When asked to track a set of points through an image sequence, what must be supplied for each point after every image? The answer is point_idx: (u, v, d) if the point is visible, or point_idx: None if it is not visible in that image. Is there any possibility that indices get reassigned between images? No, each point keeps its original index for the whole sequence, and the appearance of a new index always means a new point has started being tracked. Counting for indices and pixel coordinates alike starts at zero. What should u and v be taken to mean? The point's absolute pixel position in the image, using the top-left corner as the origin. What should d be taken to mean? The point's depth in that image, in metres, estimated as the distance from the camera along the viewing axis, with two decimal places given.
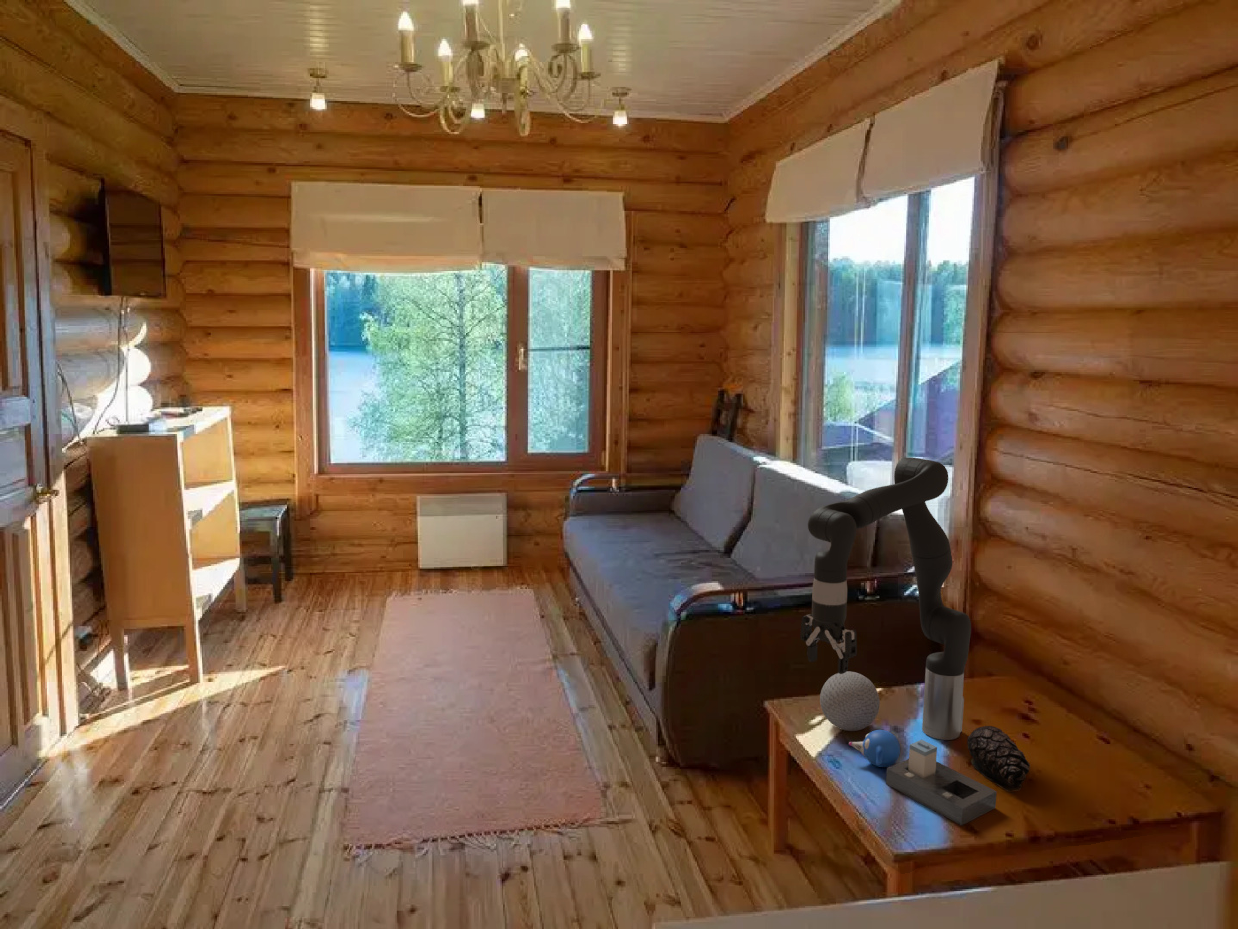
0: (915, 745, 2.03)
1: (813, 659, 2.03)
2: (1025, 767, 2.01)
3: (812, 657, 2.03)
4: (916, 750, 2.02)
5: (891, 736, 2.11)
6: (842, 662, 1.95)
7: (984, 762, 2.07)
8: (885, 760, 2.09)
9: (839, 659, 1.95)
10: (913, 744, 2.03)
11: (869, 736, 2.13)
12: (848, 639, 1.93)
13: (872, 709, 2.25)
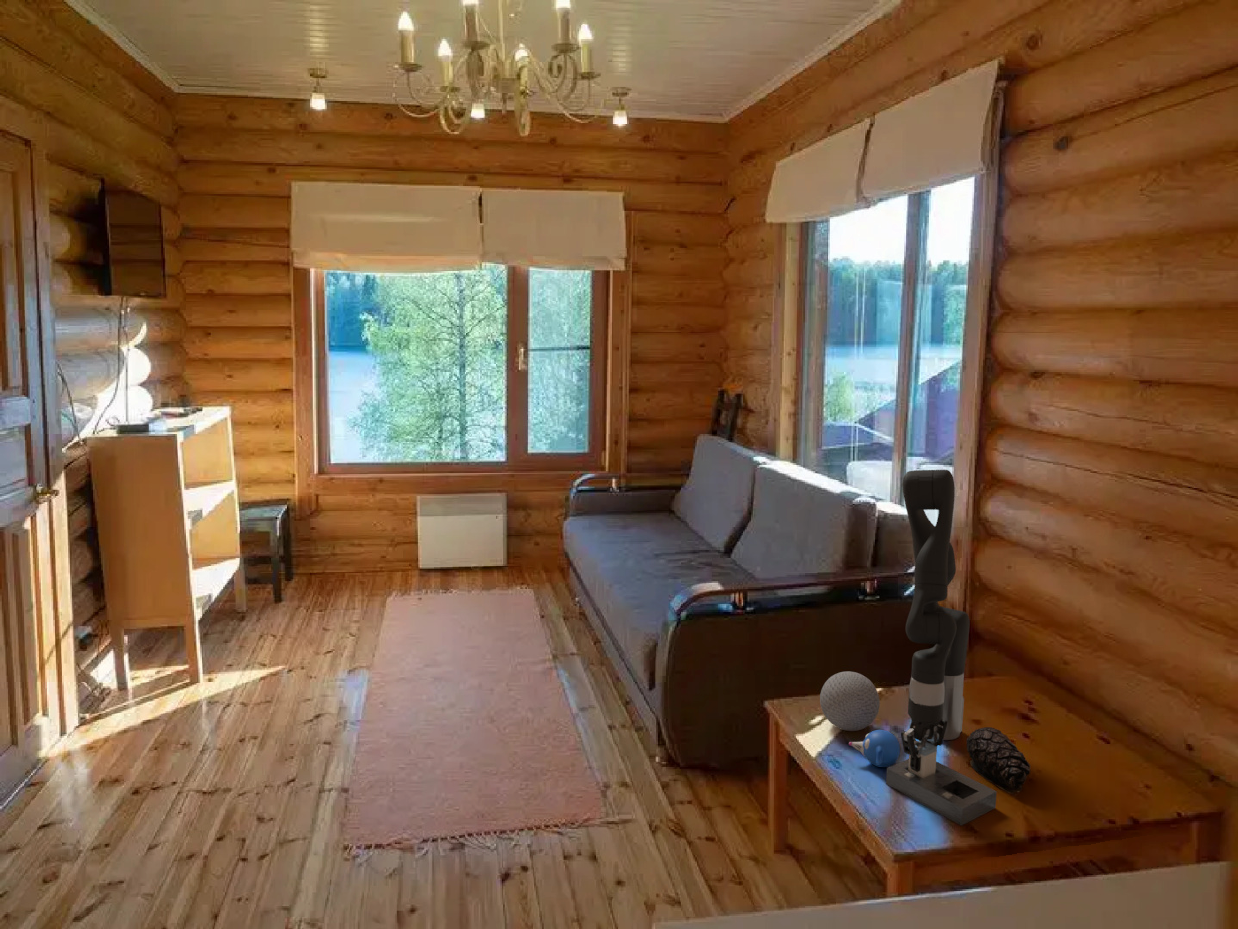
0: (915, 745, 2.03)
1: None
2: (1026, 768, 2.01)
3: None
4: None
5: (891, 736, 2.11)
6: None
7: (985, 764, 2.06)
8: (885, 760, 2.09)
9: None
10: None
11: (869, 736, 2.13)
12: (945, 727, 2.04)
13: (872, 709, 2.25)
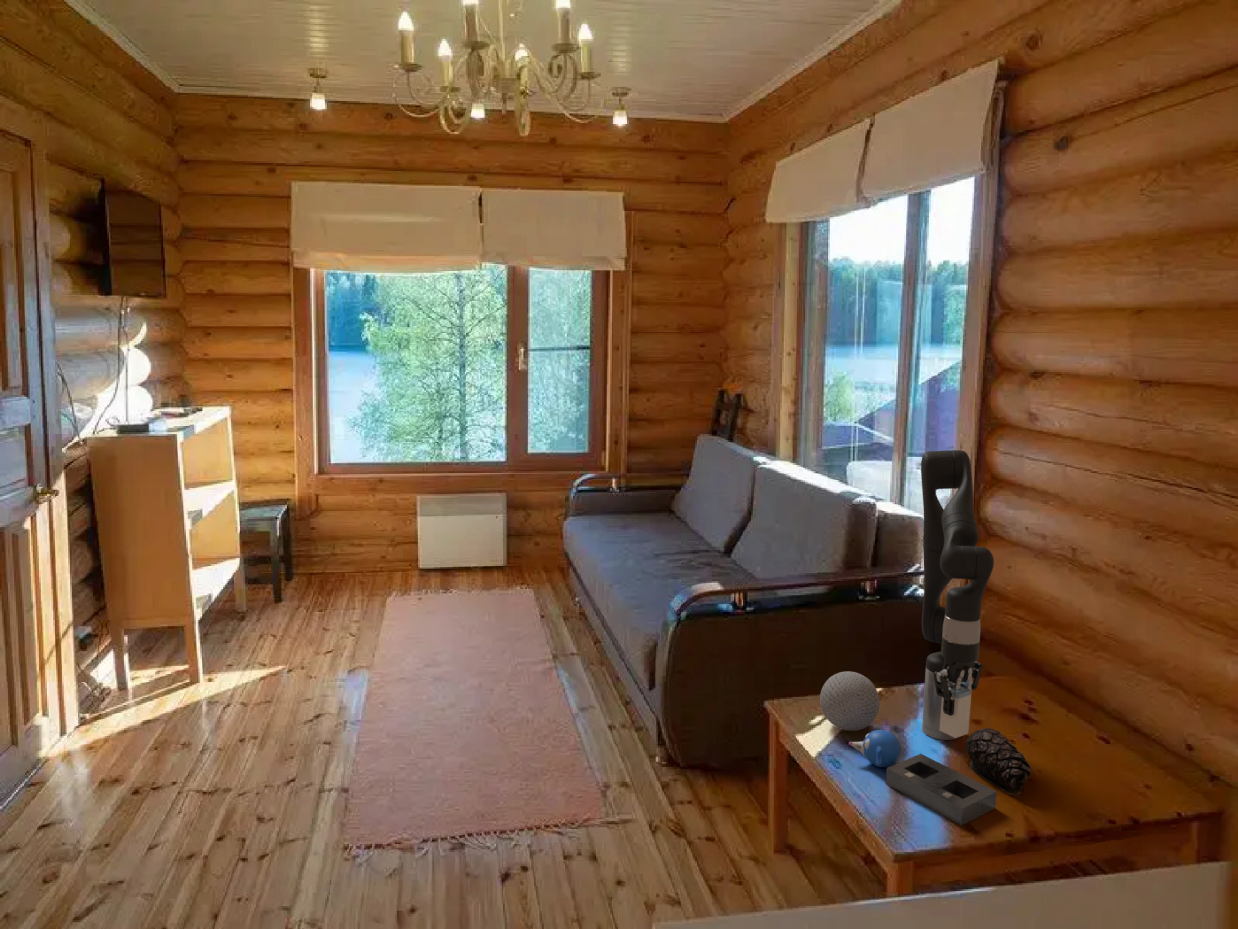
0: None
1: None
2: (1027, 769, 2.00)
3: None
4: None
5: (891, 736, 2.11)
6: None
7: (985, 765, 2.05)
8: (885, 760, 2.09)
9: None
10: None
11: (869, 736, 2.13)
12: (980, 670, 1.94)
13: (872, 709, 2.25)
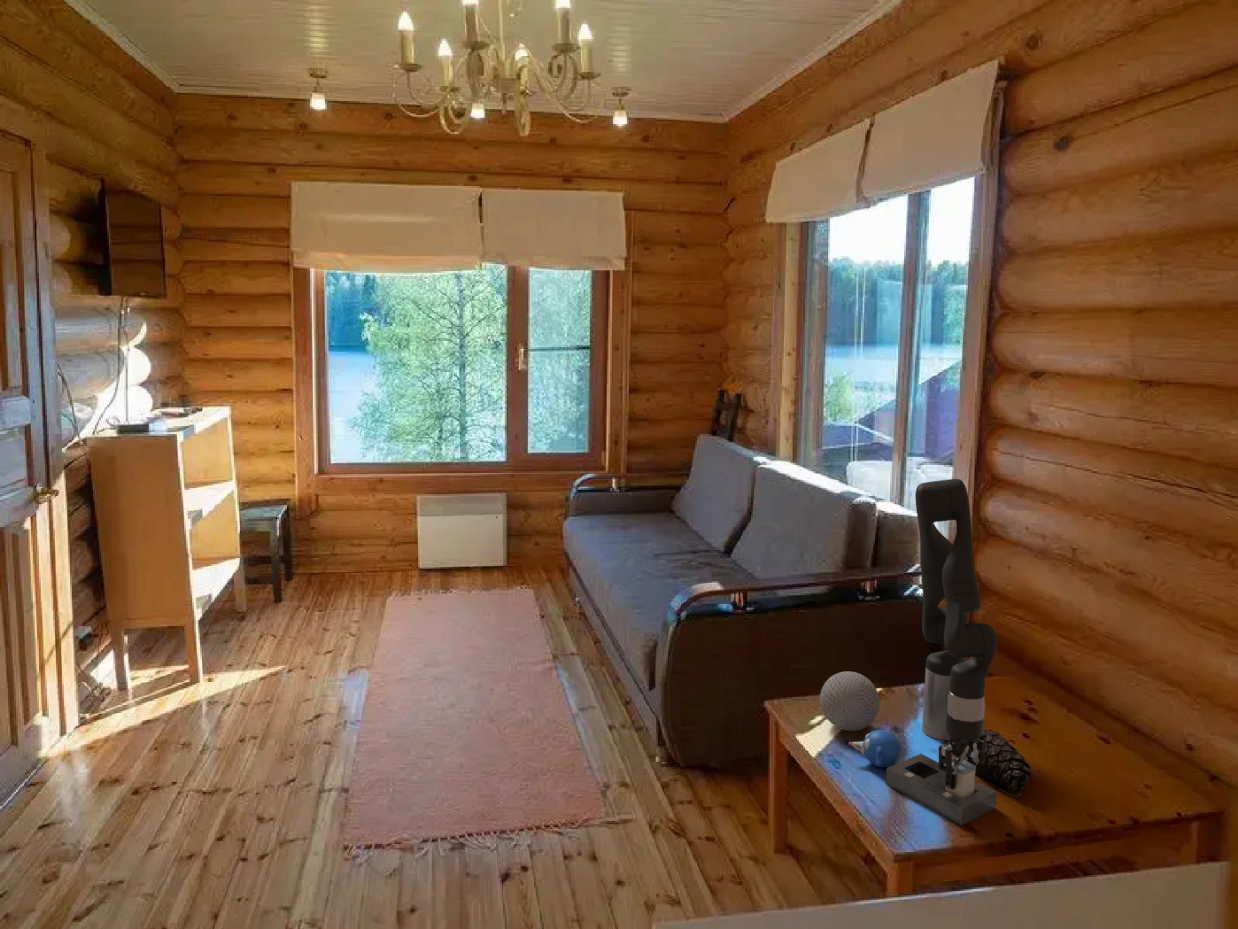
0: (953, 763, 1.94)
1: None
2: (1028, 771, 2.00)
3: None
4: None
5: (891, 736, 2.11)
6: None
7: (986, 767, 2.05)
8: (885, 760, 2.09)
9: None
10: None
11: (869, 736, 2.13)
12: (985, 740, 1.96)
13: (872, 709, 2.25)
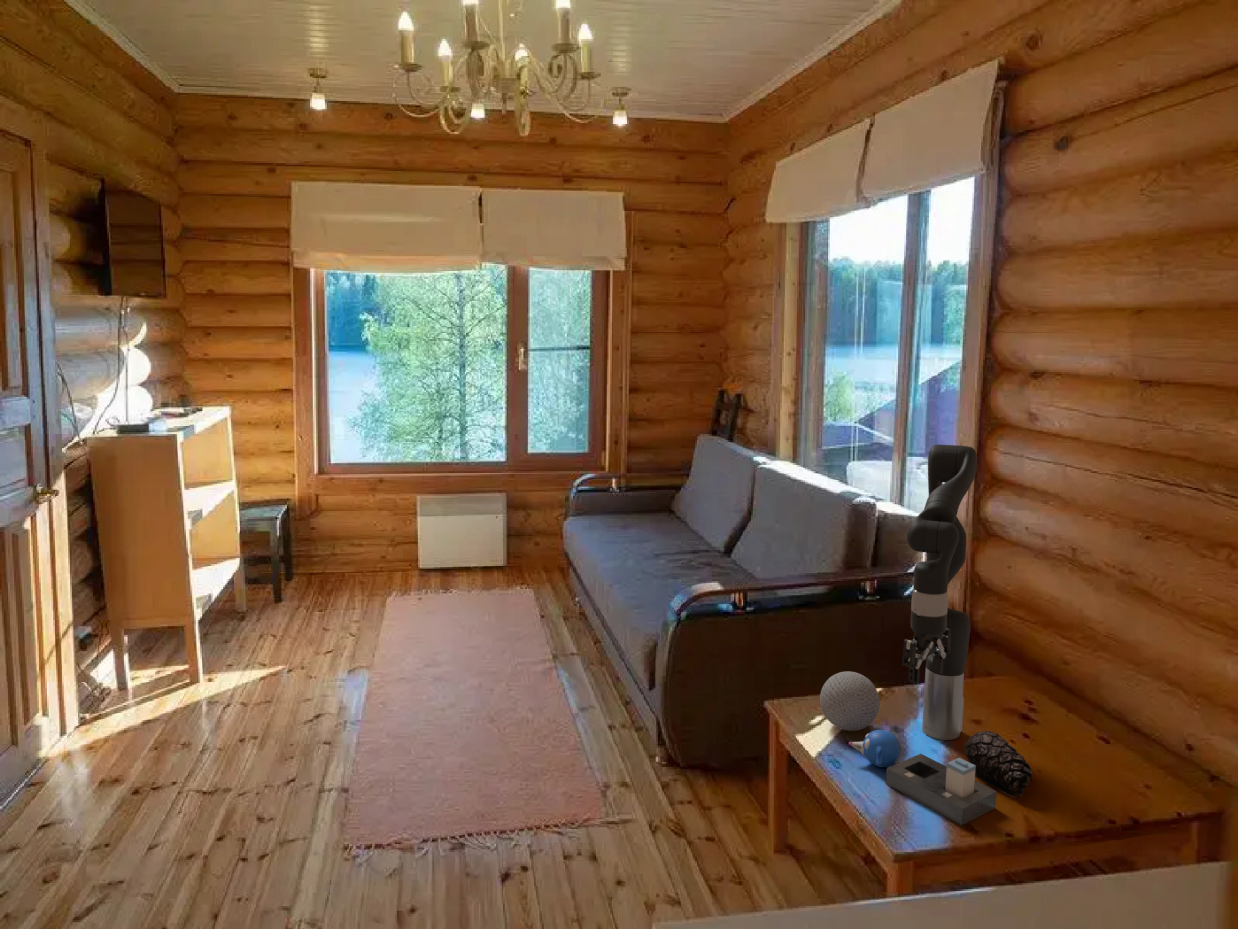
0: (953, 763, 1.94)
1: None
2: (1029, 772, 1.99)
3: None
4: (954, 769, 1.93)
5: (891, 736, 2.11)
6: None
7: (986, 768, 2.04)
8: (885, 760, 2.09)
9: (942, 660, 2.00)
10: (950, 762, 1.95)
11: (869, 736, 2.13)
12: (950, 635, 2.00)
13: (872, 709, 2.25)
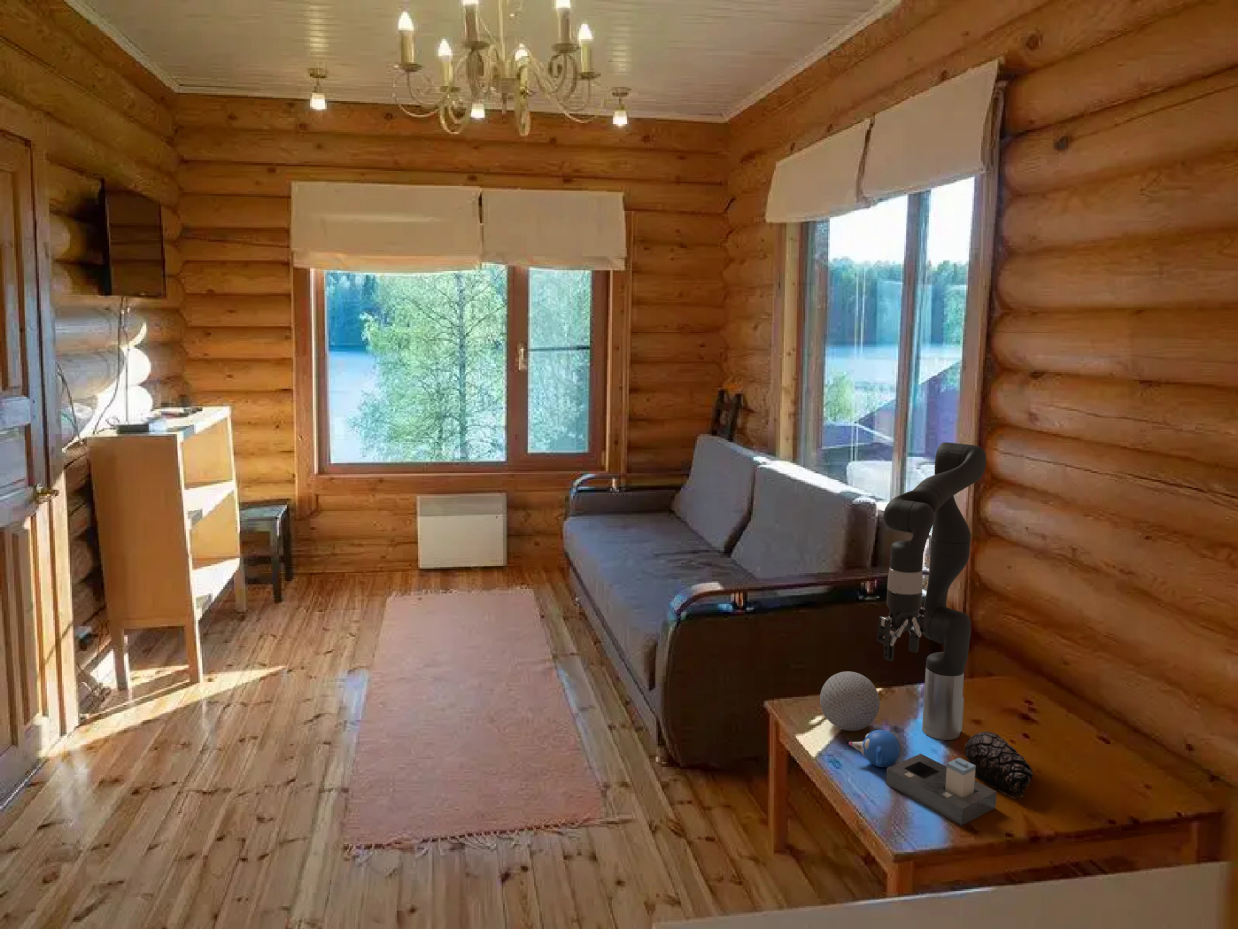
0: (953, 763, 1.94)
1: None
2: (1029, 772, 1.99)
3: None
4: (954, 769, 1.93)
5: (891, 736, 2.11)
6: None
7: (987, 769, 2.04)
8: (885, 760, 2.09)
9: (918, 638, 2.03)
10: (950, 762, 1.95)
11: (869, 736, 2.13)
12: (926, 614, 2.04)
13: (872, 709, 2.25)
